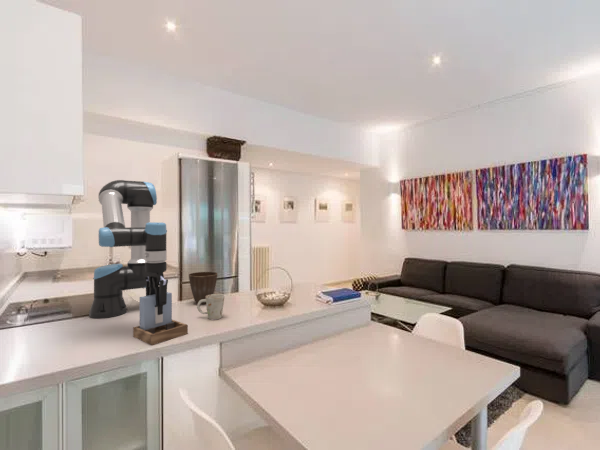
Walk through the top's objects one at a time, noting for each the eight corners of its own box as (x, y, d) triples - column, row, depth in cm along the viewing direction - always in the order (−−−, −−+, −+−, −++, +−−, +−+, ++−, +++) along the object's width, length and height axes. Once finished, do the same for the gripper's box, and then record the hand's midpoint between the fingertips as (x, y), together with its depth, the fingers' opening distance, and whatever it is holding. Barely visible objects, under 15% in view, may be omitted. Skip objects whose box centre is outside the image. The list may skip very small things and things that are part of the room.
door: (139, 328, 114) (139, 297, 114) (167, 321, 123) (167, 291, 123) (144, 330, 112) (144, 298, 112) (171, 322, 120) (171, 293, 121)
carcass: (133, 336, 114) (133, 327, 114) (168, 326, 125) (168, 318, 125) (151, 345, 105) (151, 335, 105) (187, 333, 116) (187, 324, 116)
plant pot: (221, 300, 169) (221, 271, 169) (210, 307, 155) (210, 276, 155) (196, 299, 171) (196, 271, 171) (183, 306, 157) (183, 275, 157)
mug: (221, 320, 133) (221, 298, 133) (193, 320, 133) (193, 298, 133) (226, 315, 141) (226, 293, 141) (200, 315, 141) (199, 293, 141)
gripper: (136, 261, 119) (136, 320, 119) (157, 264, 109) (157, 328, 109) (154, 259, 125) (154, 315, 125) (176, 262, 115) (176, 323, 115)
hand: (156, 321), depth 117 cm, fingers closed on door, 3 cm apart
